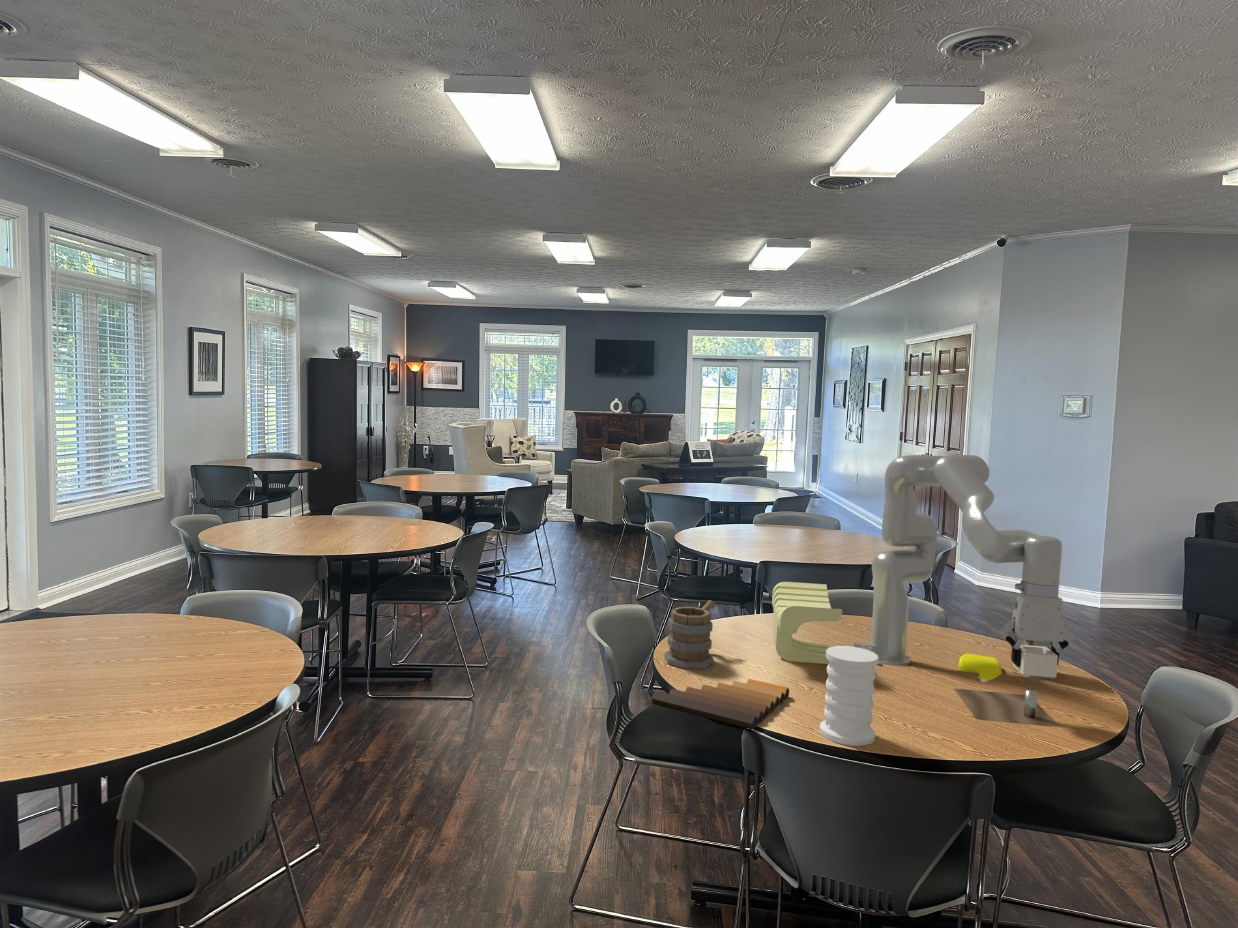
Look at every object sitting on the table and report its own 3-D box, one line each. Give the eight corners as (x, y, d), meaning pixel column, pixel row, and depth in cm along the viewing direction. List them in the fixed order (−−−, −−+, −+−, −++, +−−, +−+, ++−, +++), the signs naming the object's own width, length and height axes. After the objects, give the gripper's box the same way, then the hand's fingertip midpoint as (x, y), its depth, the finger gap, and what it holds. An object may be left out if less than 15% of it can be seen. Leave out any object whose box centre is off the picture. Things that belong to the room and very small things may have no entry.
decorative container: (837, 719, 178) (842, 642, 177) (884, 736, 170) (890, 655, 169) (809, 732, 170) (813, 651, 169) (857, 750, 162) (862, 666, 161)
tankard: (696, 672, 207) (698, 616, 206) (656, 661, 214) (659, 607, 213) (733, 654, 223) (735, 603, 222) (695, 645, 230) (697, 595, 229)
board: (975, 725, 178) (976, 718, 178) (953, 694, 198) (953, 688, 198) (1060, 733, 175) (1061, 727, 175) (1029, 701, 195) (1029, 695, 195)
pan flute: (650, 706, 183) (751, 733, 170) (651, 692, 183) (752, 717, 170) (696, 677, 204) (789, 698, 192) (697, 664, 204) (789, 685, 191)
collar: (1022, 674, 177) (1024, 652, 177) (1012, 664, 184) (1014, 644, 184) (1056, 677, 176) (1057, 655, 176) (1044, 667, 183) (1046, 646, 182)
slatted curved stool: (770, 637, 241) (773, 580, 240) (823, 641, 239) (826, 584, 238) (777, 669, 211) (781, 604, 210) (838, 674, 209) (842, 609, 208)
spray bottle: (1000, 668, 222) (1003, 697, 199) (958, 661, 226) (957, 689, 204) (1000, 658, 221) (1004, 686, 199) (959, 651, 226) (958, 678, 203)
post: (1025, 717, 180) (1027, 692, 179) (1022, 713, 182) (1024, 688, 182) (1036, 718, 180) (1038, 693, 179) (1033, 714, 182) (1035, 689, 181)
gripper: (1004, 590, 176) (999, 668, 178) (1087, 596, 174) (1081, 675, 175) (994, 583, 184) (989, 658, 185) (1074, 589, 181) (1068, 664, 182)
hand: (1034, 665), depth 180 cm, fingers closed on collar, 7 cm apart
